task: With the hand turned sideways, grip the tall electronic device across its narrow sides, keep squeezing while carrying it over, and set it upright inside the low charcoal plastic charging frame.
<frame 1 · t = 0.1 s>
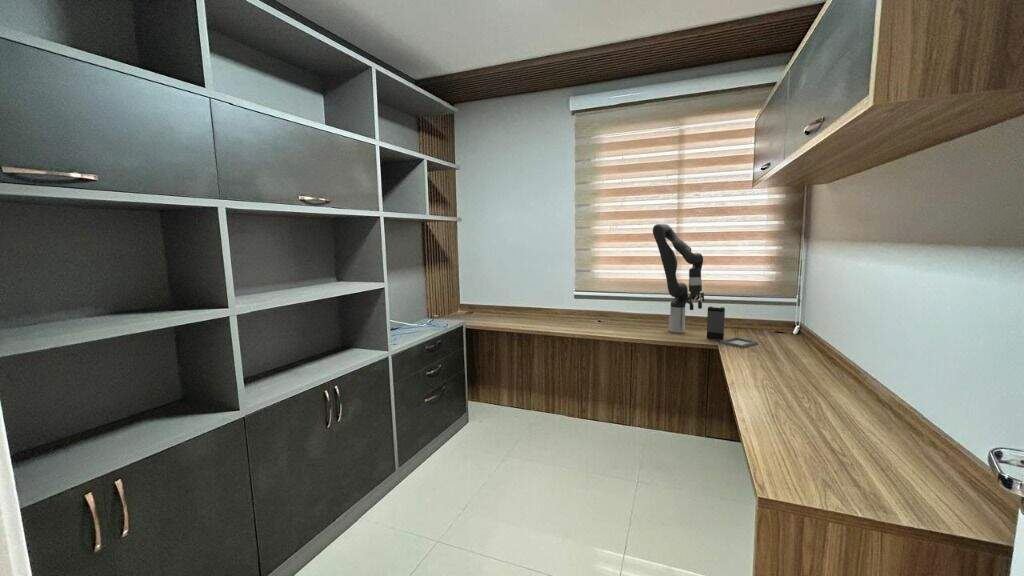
hand: (695, 309, 253), 17 cm above the worktop, tool pointing down, fingers open, 8 cm apart
charging dock: (738, 343, 234), on the worktop
electronic device: (715, 339, 245), on the worktop
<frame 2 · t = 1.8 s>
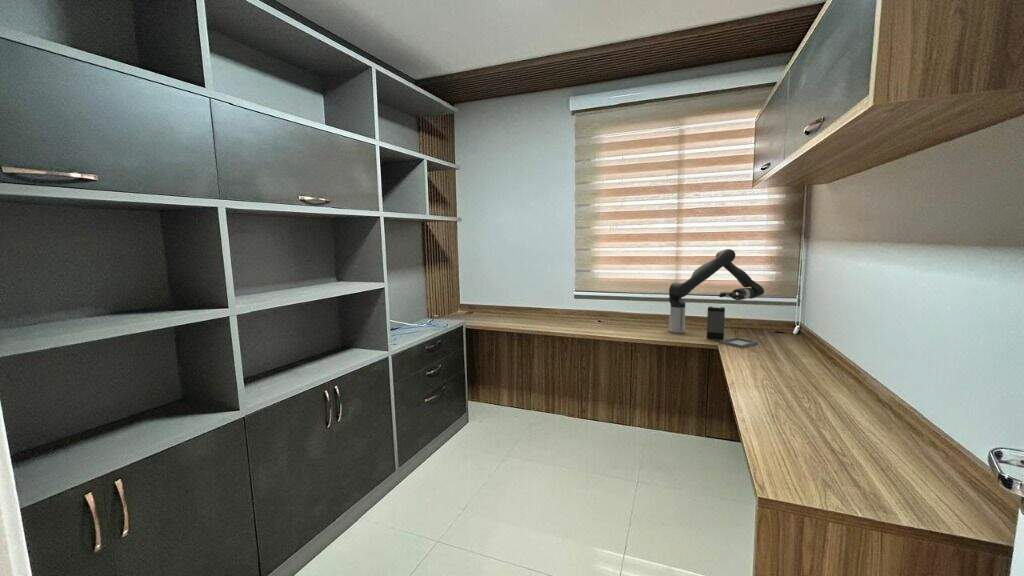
hand: (726, 296, 253), 25 cm above the worktop, tool horizontal, fingers open, 8 cm apart
nothing on the worktop moved.
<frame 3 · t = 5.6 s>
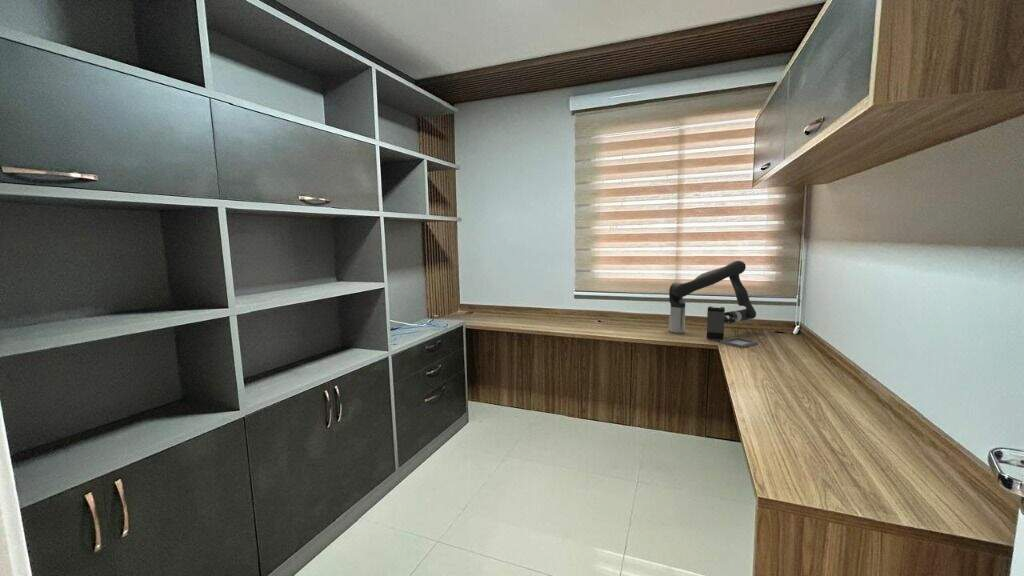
hand: (716, 319, 244), 12 cm above the worktop, tool horizontal, fingers open, 8 cm apart
electronic device: (715, 339, 245), on the worktop, touching gripper
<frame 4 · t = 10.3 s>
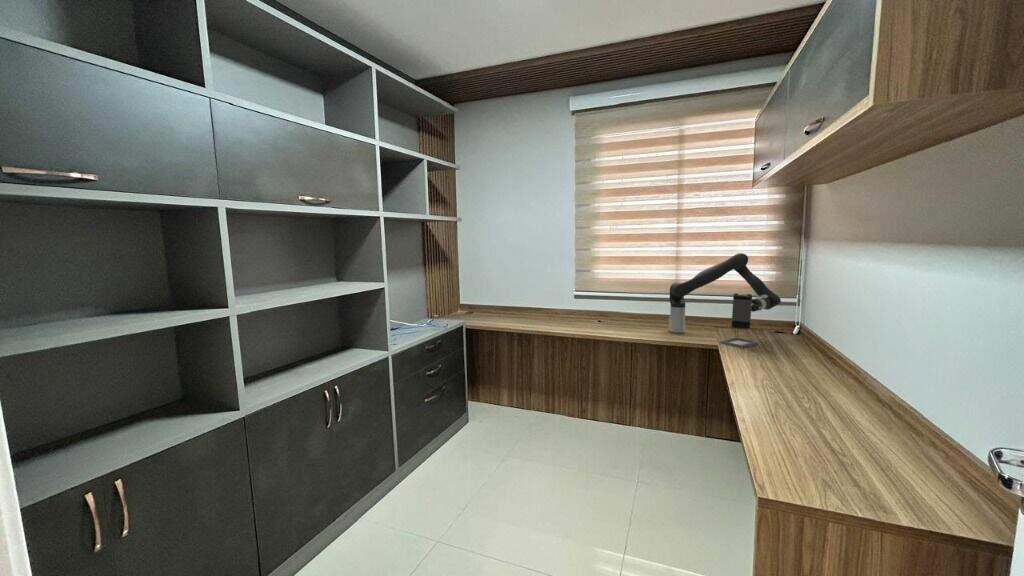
hand: (740, 307, 231), 22 cm above the worktop, tool horizontal, fingers closed on electronic device, 5 cm apart
electronic device: (740, 327, 233), point 10 cm above the worktop, touching gripper
when the fingers open (12 cm above the worktop, at t = 14.1 s): electronic device stays where it is, resting on charging dock.
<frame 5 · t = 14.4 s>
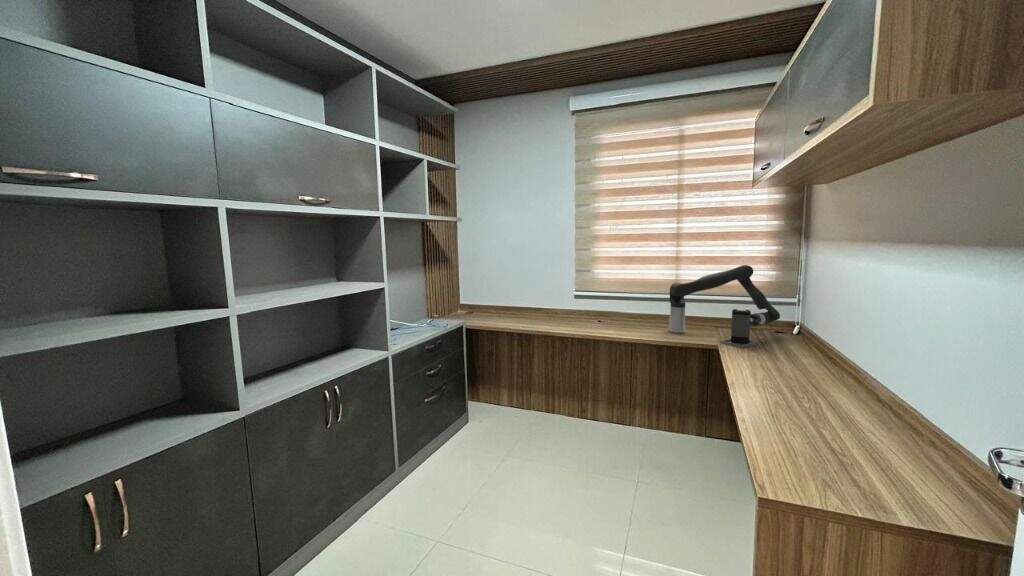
hand: (739, 322, 232), 13 cm above the worktop, tool horizontal, fingers open, 7 cm apart
electronic device: (739, 343, 234), resting on charging dock
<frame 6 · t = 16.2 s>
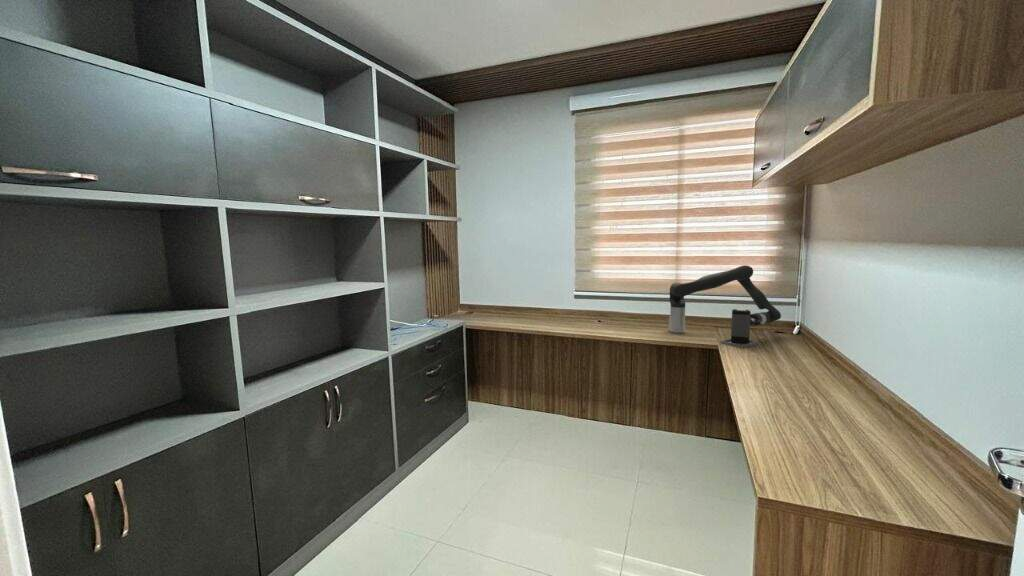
hand: (740, 322, 233), 13 cm above the worktop, tool horizontal, fingers open, 8 cm apart
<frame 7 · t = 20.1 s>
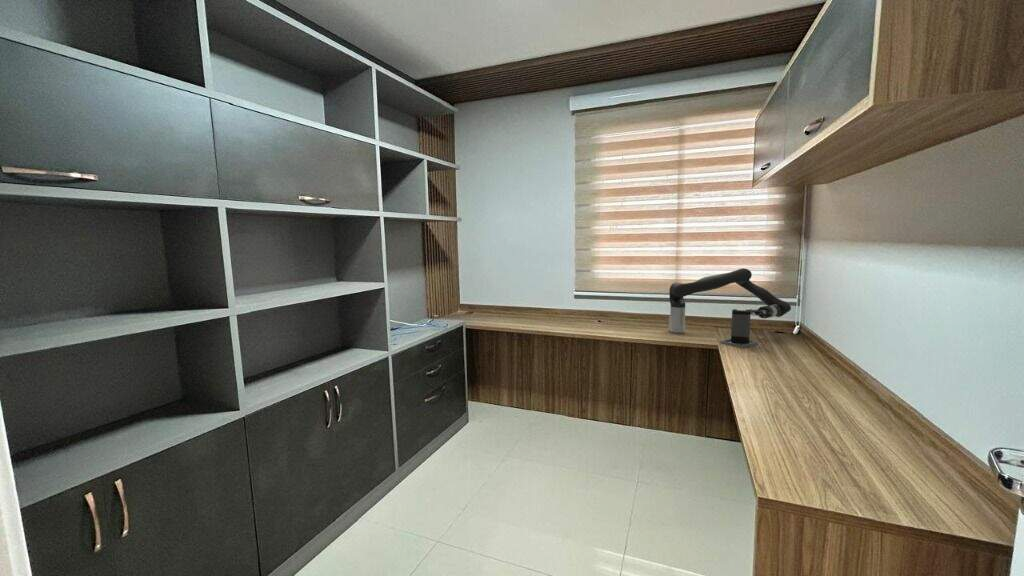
hand: (752, 314, 238), 16 cm above the worktop, tool horizontal, fingers open, 8 cm apart
nothing on the worktop moved.
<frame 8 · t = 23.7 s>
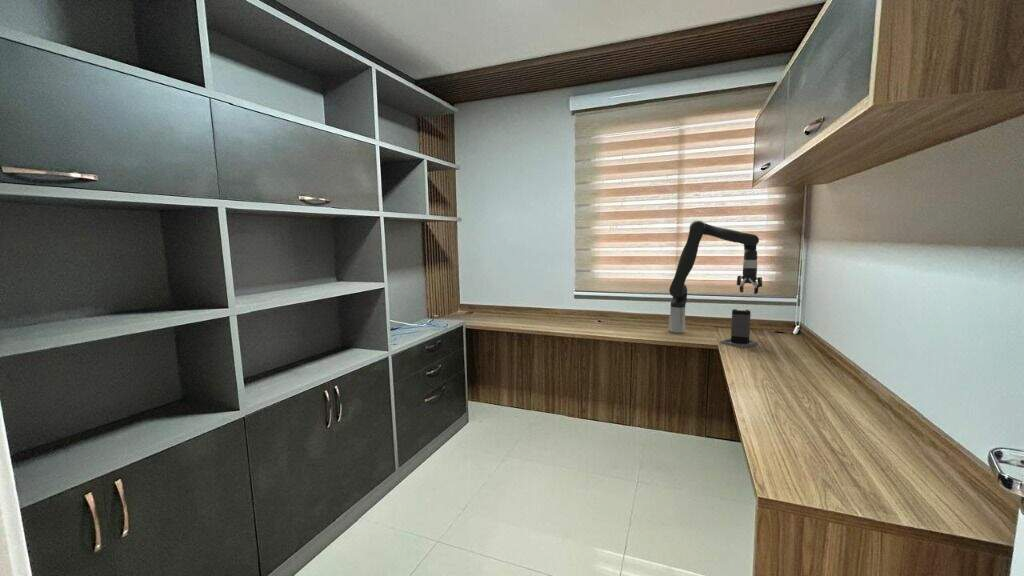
hand: (748, 293, 245), 28 cm above the worktop, tool pointing down, fingers open, 8 cm apart
nothing on the worktop moved.
at the end: electronic device 0.4 cm off-centre on the charging dock, point 0.0 cm above the charging dock's base; electronic device tilted 0°; the gripper is holding nothing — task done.
